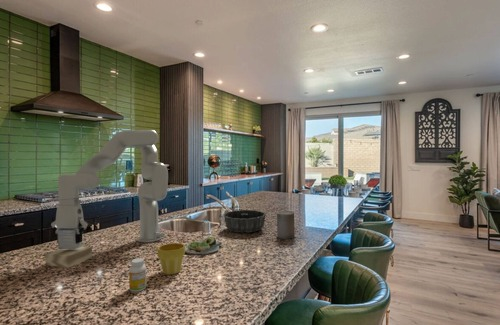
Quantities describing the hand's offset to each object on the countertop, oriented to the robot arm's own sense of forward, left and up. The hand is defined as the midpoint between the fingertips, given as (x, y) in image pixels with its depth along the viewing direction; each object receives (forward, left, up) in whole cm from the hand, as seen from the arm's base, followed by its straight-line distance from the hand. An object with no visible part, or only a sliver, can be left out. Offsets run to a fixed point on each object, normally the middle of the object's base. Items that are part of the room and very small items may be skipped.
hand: (69, 242), depth 121 cm
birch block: (0, 0, -9) cm, 9 cm away
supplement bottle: (-43, +22, -9) cm, 49 cm away
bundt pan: (-70, -59, -9) cm, 92 cm away
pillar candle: (-95, -45, -9) cm, 105 cm away
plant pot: (-49, +7, -9) cm, 50 cm away
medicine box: (0, 0, -3) cm, 3 cm away
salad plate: (-54, -21, -9) cm, 58 cm away
